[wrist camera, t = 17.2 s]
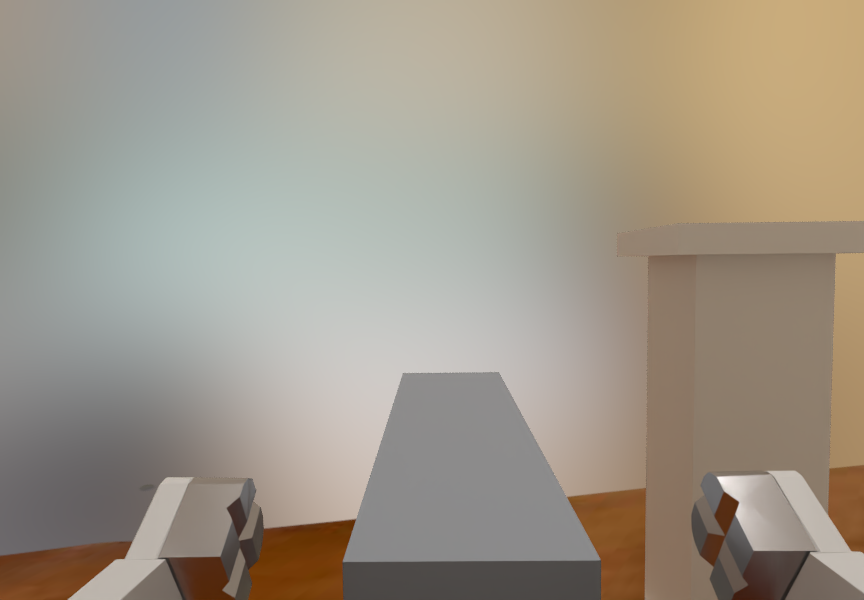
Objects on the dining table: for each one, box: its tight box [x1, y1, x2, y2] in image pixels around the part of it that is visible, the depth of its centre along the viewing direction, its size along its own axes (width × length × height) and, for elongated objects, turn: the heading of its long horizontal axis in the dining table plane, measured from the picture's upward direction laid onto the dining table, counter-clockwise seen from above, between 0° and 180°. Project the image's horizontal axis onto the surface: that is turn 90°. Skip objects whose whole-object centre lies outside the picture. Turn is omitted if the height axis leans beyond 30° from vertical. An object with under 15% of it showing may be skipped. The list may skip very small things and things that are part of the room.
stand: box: [617, 221, 864, 600], centre depth 35 cm, size 10×10×26 cm
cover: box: [343, 372, 601, 600], centre depth 22 cm, size 5×20×2 cm, turn 179°
